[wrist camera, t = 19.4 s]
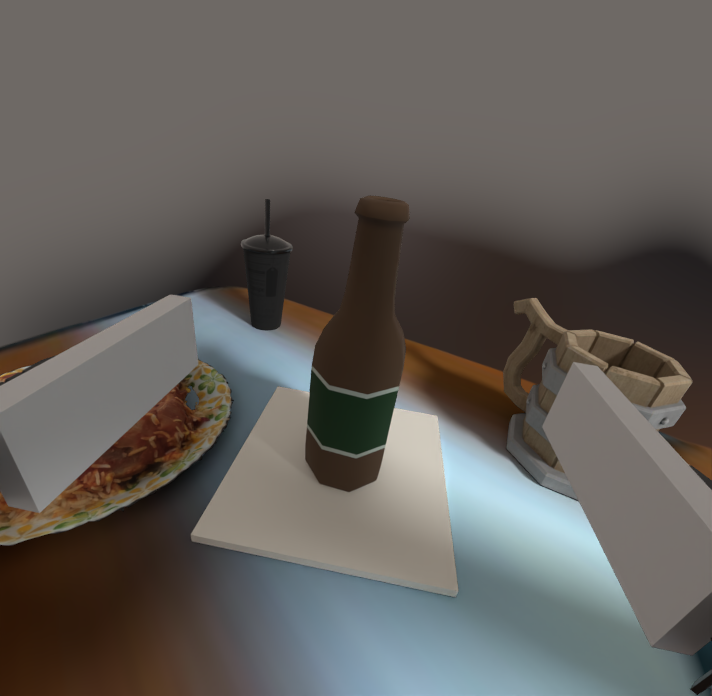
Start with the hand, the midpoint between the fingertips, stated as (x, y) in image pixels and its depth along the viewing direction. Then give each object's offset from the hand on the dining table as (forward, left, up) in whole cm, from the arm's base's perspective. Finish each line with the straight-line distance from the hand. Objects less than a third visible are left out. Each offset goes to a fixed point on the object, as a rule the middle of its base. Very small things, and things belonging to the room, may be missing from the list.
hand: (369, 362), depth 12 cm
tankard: (-22, -25, -21) cm, 40 cm away
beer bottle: (+1, -14, -20) cm, 25 cm away
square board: (+1, -14, -21) cm, 25 cm away
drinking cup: (+19, -42, -21) cm, 51 cm away
